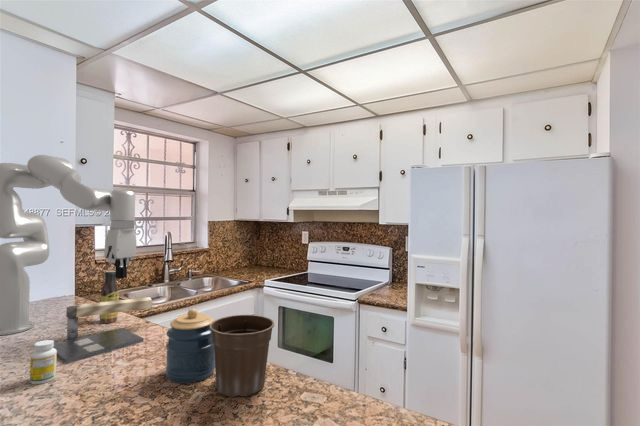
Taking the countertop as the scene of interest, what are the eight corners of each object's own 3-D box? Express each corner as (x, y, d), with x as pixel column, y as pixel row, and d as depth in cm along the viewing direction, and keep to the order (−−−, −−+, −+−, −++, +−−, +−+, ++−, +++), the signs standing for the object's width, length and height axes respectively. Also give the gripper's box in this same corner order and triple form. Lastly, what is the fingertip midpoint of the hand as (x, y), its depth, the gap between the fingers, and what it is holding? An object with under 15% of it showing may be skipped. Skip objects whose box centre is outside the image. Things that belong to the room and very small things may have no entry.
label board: (41, 345, 111) (42, 322, 111) (114, 327, 129) (114, 307, 129) (66, 363, 99) (67, 337, 99) (143, 341, 117) (143, 319, 117)
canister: (224, 367, 99) (226, 305, 99) (194, 388, 87) (196, 318, 87) (188, 359, 104) (189, 301, 104) (154, 379, 91) (155, 312, 91)
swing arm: (66, 318, 114) (66, 309, 114) (66, 314, 118) (66, 306, 118) (151, 307, 129) (152, 299, 129) (149, 304, 133) (149, 297, 133)
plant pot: (238, 366, 100) (240, 310, 100) (284, 380, 92) (286, 320, 92) (194, 390, 86) (195, 326, 86) (244, 410, 78) (246, 339, 78)
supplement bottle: (48, 383, 87) (49, 346, 87) (24, 385, 86) (25, 347, 86) (60, 374, 93) (61, 338, 93) (38, 375, 92) (38, 339, 92)
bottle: (109, 324, 133) (110, 273, 133) (95, 323, 134) (96, 272, 134) (122, 319, 139) (123, 270, 139) (108, 318, 140) (109, 269, 140)
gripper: (129, 224, 128) (127, 273, 128) (95, 226, 114) (93, 281, 114) (146, 225, 127) (145, 275, 127) (114, 226, 112) (113, 283, 112)
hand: (121, 278), depth 120 cm, fingers closed
